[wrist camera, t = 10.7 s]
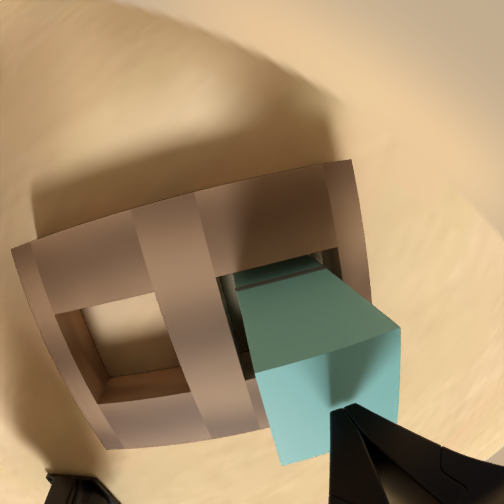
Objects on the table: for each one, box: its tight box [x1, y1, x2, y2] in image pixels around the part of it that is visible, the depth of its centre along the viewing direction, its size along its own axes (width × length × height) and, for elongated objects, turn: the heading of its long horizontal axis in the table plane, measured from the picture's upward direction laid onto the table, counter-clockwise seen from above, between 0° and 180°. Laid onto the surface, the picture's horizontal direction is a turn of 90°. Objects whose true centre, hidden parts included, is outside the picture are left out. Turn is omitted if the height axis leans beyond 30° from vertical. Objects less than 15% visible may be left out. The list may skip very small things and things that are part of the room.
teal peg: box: [233, 254, 401, 466], centre depth 14 cm, size 4×4×10 cm
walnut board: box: [11, 159, 372, 450], centre depth 17 cm, size 14×18×3 cm
